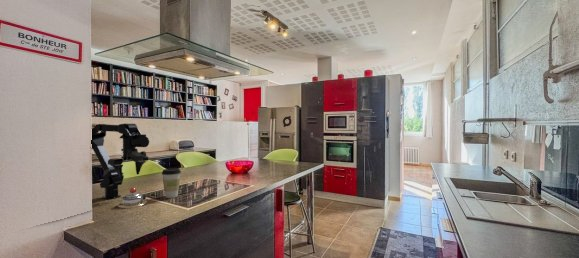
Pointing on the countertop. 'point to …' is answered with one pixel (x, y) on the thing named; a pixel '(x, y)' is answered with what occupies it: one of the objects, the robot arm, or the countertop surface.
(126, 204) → the press pot
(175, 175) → the coffee cup
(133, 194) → the plunger
